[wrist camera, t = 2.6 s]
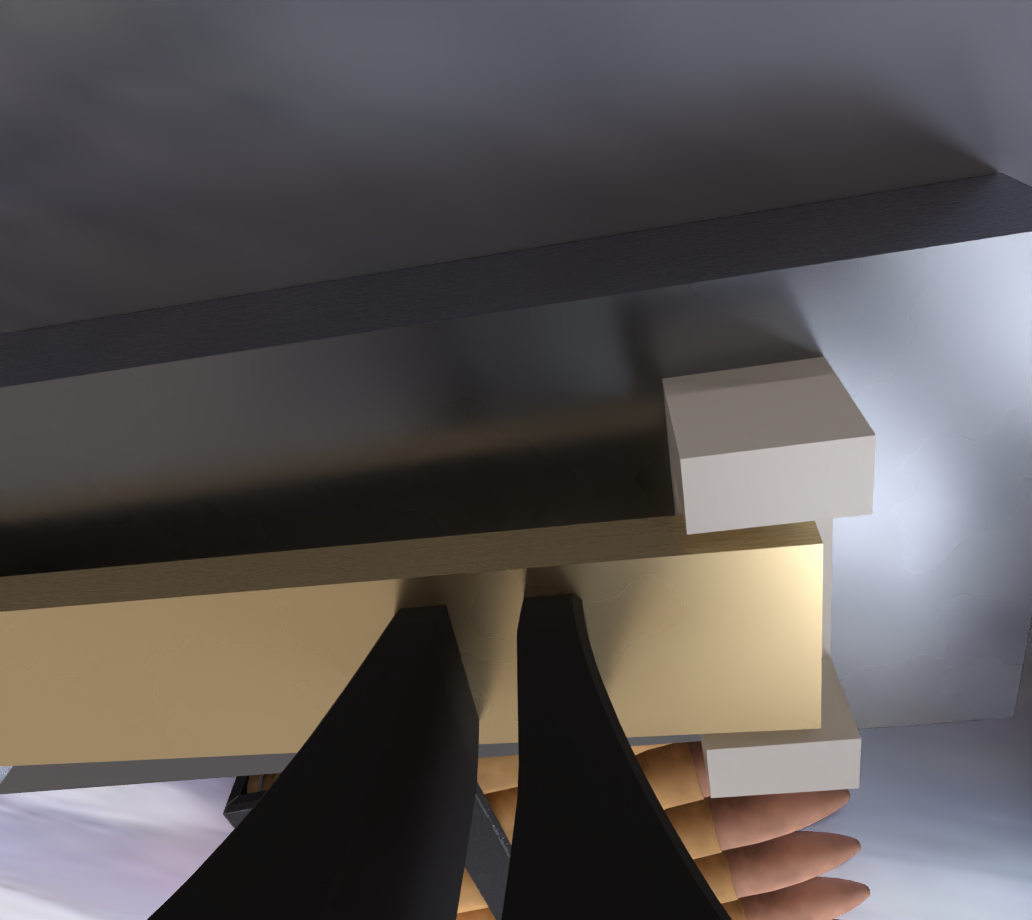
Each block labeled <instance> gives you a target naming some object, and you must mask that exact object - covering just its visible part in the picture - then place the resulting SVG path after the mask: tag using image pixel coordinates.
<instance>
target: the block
mask: <svg viewBox="0 0 1032 920" xmlns="http://www.w3.org/2000/svg"><path fill="white" fill-rule="evenodd" d="M817 357H825V358H826V360H827V361H828V363H829V364H830V366H831V367H832V369H833V370H834V372H835V373H836V375H837V376H838V378H839V380H840V381H841V383H842V384H843V386H844V387H845V389H846V390H847V392H848V393H849V395H850V396H851V398H852V399H853V401H854V402H855V404H856V405H857V407H858V408H859V410H860V411H861V413H862V414H863V416H864V417H865V419H866V421H867V422H868V424H869V425H870V427H871V428H872V430H873V431H874V433H875V434H876V447H875V468H874V489H873V509H872V514H870V515H861V516H852V517H843V518H834V519H833V536H832V588H831V640H830V657H831V660H832V663H833V665H834V668H835V670H836V673H837V676H838V678H839V681H840V684H841V686H842V689H843V691H844V694H845V697H846V699H847V702H848V705H849V707H850V710H851V713H852V715H853V718H854V720H855V723H856V726H857V728H858V729H866V728H880V727H893V726H906V725H919V724H932V723H945V722H959V721H972V720H985V719H998V718H1011V717H1014V712H1015V707H1016V701H1017V696H1018V690H1019V685H1020V679H1021V674H1022V668H1023V663H1024V657H1025V651H1026V646H1027V640H1028V635H1029V629H1030V624H1031V618H1032V187H1031V186H1029V185H1026V184H1024V183H1022V182H1020V181H1018V180H1016V179H1014V178H1012V177H1010V176H1007V175H1005V174H1003V173H999V174H992V175H986V176H980V177H974V178H968V179H961V180H955V181H949V182H943V183H937V184H930V185H924V186H918V187H912V188H906V189H899V190H893V191H887V192H881V193H875V194H868V195H862V196H856V197H850V198H844V199H837V200H831V201H825V202H819V203H813V204H806V205H800V206H794V207H788V208H782V209H775V210H769V211H763V212H757V213H750V214H744V215H738V216H732V217H726V218H719V219H713V220H707V221H701V222H695V223H688V224H682V225H676V226H670V227H664V228H657V229H651V230H645V231H639V232H633V233H626V234H620V235H614V236H608V237H602V238H595V239H589V240H583V241H577V242H571V243H564V244H558V245H552V246H546V247H540V248H533V249H527V250H521V251H515V252H509V253H502V254H496V255H490V256H484V257H478V258H471V259H465V260H459V261H453V262H447V263H440V264H434V265H428V266H422V267H415V268H409V269H403V270H397V271H391V272H384V273H378V274H372V275H366V276H360V277H353V278H347V279H341V280H335V281H329V282H322V283H316V284H310V285H304V286H298V287H291V288H285V289H279V290H273V291H267V292H260V293H254V294H248V295H242V296H236V297H229V298H223V299H217V300H211V301H205V302H198V303H192V304H186V305H180V306H174V307H167V308H161V309H155V310H149V311H143V312H136V313H130V314H124V315H118V316H112V317H105V318H99V319H93V320H87V321H80V322H74V323H68V324H62V325H56V326H49V327H43V328H37V329H31V330H25V331H18V332H12V333H6V334H0V577H5V576H16V575H27V574H38V573H49V572H60V571H71V570H82V569H93V568H104V567H115V566H126V565H137V564H148V563H159V562H170V561H181V560H192V559H203V558H214V557H225V556H236V555H247V554H258V553H269V552H280V551H290V550H301V549H312V548H323V547H334V546H345V545H356V544H367V543H378V542H389V541H400V540H411V539H422V538H433V537H444V536H455V535H466V534H477V533H488V532H499V531H510V530H521V529H532V528H543V527H554V526H565V525H576V524H587V523H598V522H608V521H619V520H630V519H641V518H652V517H663V516H674V515H675V507H674V497H673V486H672V476H671V466H670V456H669V446H668V435H667V425H666V415H665V405H664V394H663V384H662V379H663V378H671V377H678V376H685V375H693V374H700V373H707V372H715V371H722V370H729V369H737V368H744V367H751V366H759V365H766V364H773V363H781V362H788V361H795V360H803V359H810V358H817ZM627 739H628V741H629V744H630V746H642V745H655V744H669V743H682V742H695V741H701V738H700V734H690V735H669V736H647V737H627ZM296 754H297V753H281V754H259V755H238V756H216V757H194V758H173V759H151V760H130V761H108V762H87V763H65V764H43V765H22V766H0V794H9V793H23V792H36V791H49V790H62V789H75V788H89V787H102V786H115V785H128V784H141V783H154V782H168V781H181V780H194V779H207V778H220V777H234V776H247V775H260V774H273V773H281V772H282V771H283V770H284V769H285V767H286V766H287V765H288V764H289V762H290V761H291V760H292V759H293V757H294V756H295V755H296ZM510 755H518V743H496V744H479V750H478V758H484V757H497V756H510Z"/></svg>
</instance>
